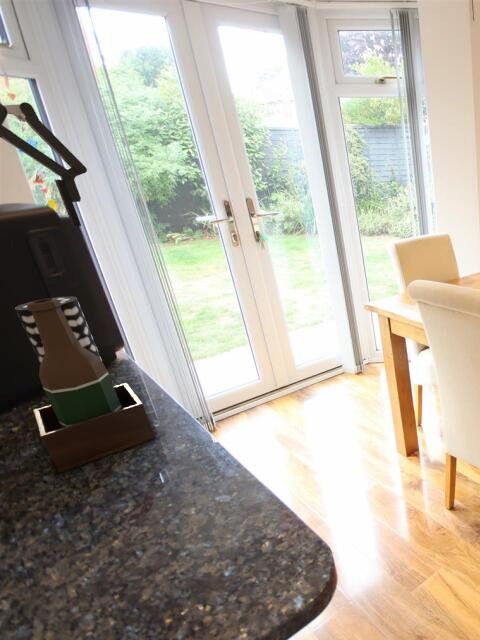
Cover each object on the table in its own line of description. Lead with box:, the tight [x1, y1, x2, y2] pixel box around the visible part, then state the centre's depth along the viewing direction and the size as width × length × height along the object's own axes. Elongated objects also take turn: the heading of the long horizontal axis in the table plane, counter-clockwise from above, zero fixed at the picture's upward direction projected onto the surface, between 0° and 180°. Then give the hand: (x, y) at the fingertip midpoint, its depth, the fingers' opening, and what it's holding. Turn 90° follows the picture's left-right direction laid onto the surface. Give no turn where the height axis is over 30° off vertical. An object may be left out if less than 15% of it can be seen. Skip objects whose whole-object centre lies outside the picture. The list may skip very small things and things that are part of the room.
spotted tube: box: [14, 296, 103, 365], centre depth 88 cm, size 8×8×20 cm
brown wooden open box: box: [33, 382, 156, 474], centre depth 76 cm, size 12×12×7 cm
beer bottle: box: [27, 297, 122, 428], centre depth 73 cm, size 8×8×24 cm
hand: (13, 232), depth 64 cm, fingers open, 13 cm apart
